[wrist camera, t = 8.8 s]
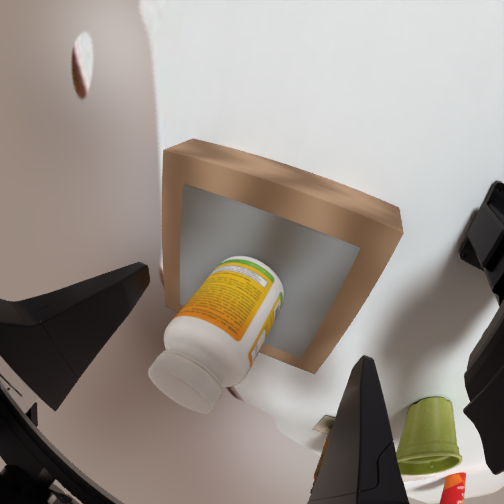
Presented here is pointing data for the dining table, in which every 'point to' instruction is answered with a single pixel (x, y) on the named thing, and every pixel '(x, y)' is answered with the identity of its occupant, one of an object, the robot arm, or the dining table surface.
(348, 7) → the dining table surface
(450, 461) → the plant pot
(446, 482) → the paper cup
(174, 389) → the supplement bottle
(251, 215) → the framed mirror
